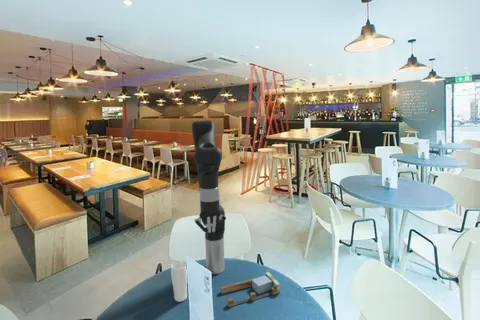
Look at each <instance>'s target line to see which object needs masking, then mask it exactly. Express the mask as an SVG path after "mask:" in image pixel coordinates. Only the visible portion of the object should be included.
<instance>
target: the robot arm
mask: <svg viewBox="0 0 480 320" xmlns="http://www.w3.org/2000/svg"><path fill="white" fill-rule="evenodd" d="M191 132H192V138H193V145H194V151H195V152H194V156H193V159H194V163H195V164H196V171H197V179H198V189H199V203H200V204H199V205H200V207H199V209H200V212H199V215H198V217H197V218H195V219H194V220H193V221H194V222H195V224H196V225H197V226H198V227H199V228H200V229H201V230H202V231H203V232H204V241H205V243H204V244H205V264H206V265H205V268H207V269H209V270H210V271H211V272H212V274H211V275H218V274H222V272H225V270H226V269H225V239H224V238H225V237H224V235H225V230H226V229H225V228H226V220H227V217H226V212H225V209H224V207H223V206H222V205H221V204H220V190H219V189H220V188H219V171H220V167H221V164H222V158H223V152H222V150H221V149H220V148H219V147H218V146H217V147H216V142H215V140H216V126H215V123H214V122H213V120H209V119H208V120H200V121H199V120H196V121H193V122H192V124H191Z"/></svg>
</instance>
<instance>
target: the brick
mask: <svg viewBox="0 0 480 320" xmlns="http://www.w3.org/2000/svg"><path fill="white" fill-rule="evenodd" d="M265 275H266V274H265ZM265 275H264V274H263V275H261V276H257V277H258V278H257V277H255V278H256V279H253V278H252V279H253V280H252V286H251V287H252V289H253V291H255V293H256V294H258V295H262V294H264V293H266V292H268V291H271V287H272V281H271V280H270V279H269V278H268V277H266V276H265Z"/></svg>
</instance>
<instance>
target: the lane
mask: <svg viewBox="0 0 480 320" xmlns="http://www.w3.org/2000/svg"><path fill="white" fill-rule="evenodd" d="M265 276H266V277H268V278H269V279H270V280H271V281H272V287H271V290H270V292H268V293H266V292H265V293H262V294H258V295H257V293H256V291H255V292H254V291H252V292H250V293H249V298H244V299H242V300H237V301H235V300H234V298H233V297H231V298H228V299H227V307H228V308H231V307H236V306H239V305H242V304H246V303H249V302H252V301H256V300H260V299H263V298H267V297H270V296H274V295H279V294H281V283H280V282H279V281H278V280H277V279H276V278H275V277H274V276H273V275H272V274H271V273H270V272H269V271H266V272H265ZM258 277H259V276H257V277H254V278H249V279H246V280H243V281H238V282H234V283H229V284H226V285H222V286H220V293H221V294H222V295H223V294H227V293H231V292H232V293H233V292H235V291H240V290H243V289H247V288H251V287H252V280H253V279H256V278H258Z"/></svg>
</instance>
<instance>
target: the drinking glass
mask: <svg viewBox="0 0 480 320" xmlns="http://www.w3.org/2000/svg"><path fill="white" fill-rule="evenodd" d="M186 263H187V262H186V261H183V260H182V261H181V260H180V261H175V262H173V263H172V264H170V266H171V267H170V276H171V282H172V289H173V299H174V301H175V302H179V303H180V302H183V301H185V300H186V299H188V298H187V297H188V280H187V269H186Z"/></svg>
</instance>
